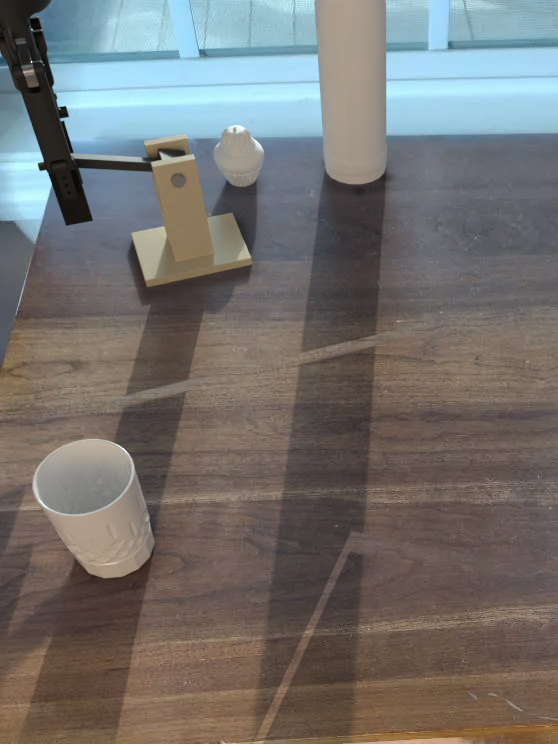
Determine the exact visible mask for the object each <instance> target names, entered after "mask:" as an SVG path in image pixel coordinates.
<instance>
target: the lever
mask: <svg viewBox="0 0 558 744" xmlns="http://www.w3.org/2000/svg"><path fill="white" fill-rule="evenodd" d="M71 155H72V156H73V158H74V160H75V163H76V167H77V168H79V169H88V170H109V171H126V172H127V171H128V172H144V173H145V172H147V173H151V172H153V170H152V166H151V162H154V161H159V160H164V159H170V158H175V157H181V156H186V154H185V151H181V150H166V149H158V150H157V158H147V157H146V156H145V157H142V156H125V155H112V154H111V155H109V154H96V153H95V154H93V153H76V152H74V153H71Z"/></svg>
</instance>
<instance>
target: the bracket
mask: <svg viewBox="0 0 558 744" xmlns="http://www.w3.org/2000/svg"><path fill="white" fill-rule="evenodd" d="M143 146H144V151H145V155H146V158H157V150H158V149H166V150H181V151H185V154H186V156H181V157H175V158H170V159H164V160H159V161H154V162H151V166H152V170H153V172H150V174H151V178H152V182H153V187H154V191H155V194H156V199H157V202H158V207H159V210H160V214H161V219H162V223H163V226H158V227H154V228H148V229H144V230H139V231H134V232H131V233H130V236H131V240H132V243H133V246H134V249H135V253H136V255H137V259H138V262H139V265H140V269H141V272H142V276H143V279H144V282H145V285H146V286H145V287H147V288H150V287H155V286H160V285H164V284H169V283H173V282H179V281H182V280H183V281H184V280H187V279H191V278H196V277H200V276H205V275H210V274H215V273H219V272H224V271H229V270H233V269H238V268H242V267H249V266H252V265H253V260H252V256H251V253H250V252H249V249H248V247H247V244H246V242H245V239H244V238H243V235H242V232H241V230H240V227H239V225H238V223H237V221H236V218H235V215H234V213H233V212H228V213H223V214H218V215H213V216H208V217H207V210H206V206H205V201H204V196H203V190H202V186H201V180H200V176H199V172H198V166H197V165H198V164H197V160H196V157H195V154H194V153H192V154H191V151H190V147H189V141H188V138H187V135H186V133H180V134H175V135H170V136H164V137H159V138H154V139H147V140H143Z"/></svg>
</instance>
